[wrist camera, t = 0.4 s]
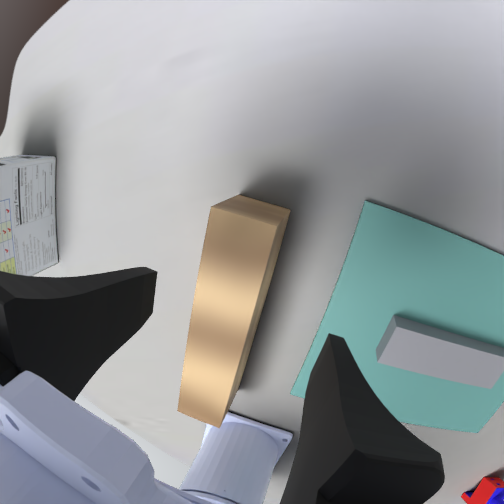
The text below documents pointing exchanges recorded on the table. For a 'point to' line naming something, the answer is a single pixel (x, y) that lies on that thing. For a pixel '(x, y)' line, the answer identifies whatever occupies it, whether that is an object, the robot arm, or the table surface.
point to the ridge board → (420, 321)
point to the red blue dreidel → (486, 492)
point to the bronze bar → (228, 302)
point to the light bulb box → (27, 214)
